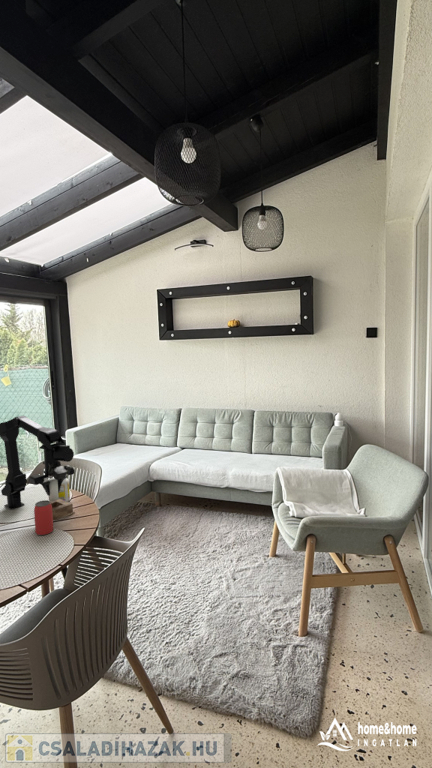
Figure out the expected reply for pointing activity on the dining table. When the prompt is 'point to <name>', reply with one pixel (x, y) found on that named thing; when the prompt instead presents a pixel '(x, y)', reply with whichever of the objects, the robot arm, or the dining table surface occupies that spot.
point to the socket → (61, 509)
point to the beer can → (43, 518)
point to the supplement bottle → (64, 490)
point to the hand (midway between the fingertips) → (53, 494)
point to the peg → (53, 489)
